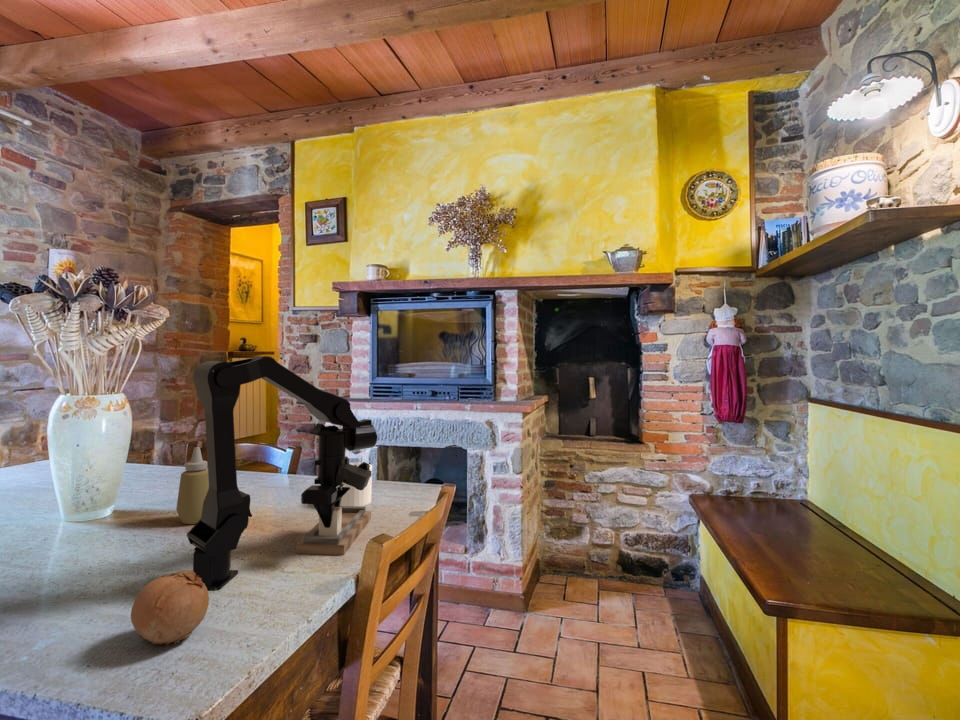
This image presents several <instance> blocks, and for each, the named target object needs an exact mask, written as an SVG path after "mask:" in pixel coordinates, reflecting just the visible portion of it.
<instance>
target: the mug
mask: <svg viewBox="0 0 960 720" xmlns="http://www.w3.org/2000/svg"><path fill="white" fill-rule="evenodd" d="M361 463H362V462H349V464H351V465H357V467H358V466H359V465H360V464H361ZM368 464H369V468H370V471H372V472H371V473H372V474H371V477H370V479H369V481H368V484H367V486H366V487H365V488H364V489H363V490H358V489H356V488H355V487H353V486H350V485H348V484H345V483H343V484H345V485H344V487H350V490H349V491H348V492H347V493H345V494H344V495H343V497H342V500H341V503H340V506H357V507H367V506H369V505H370V504H371V503H372V493H373V492H372V491H373V490H372V489H373V486H372V485H373V483H372V482H373V465H372V464H370V463H368Z"/></svg>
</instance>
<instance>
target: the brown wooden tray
mask: <svg viewBox="0 0 960 720" xmlns="http://www.w3.org/2000/svg"><path fill="white" fill-rule="evenodd" d="M340 507H342V520H341V532H340V533H339V534H338V536H319V522H318V523H317V524H316V525H314V527H312V529H310V530H309V531H308V532H307V533H306V534H305V535H304V536H303V537H302V538H301V539H300V540H299V541H298V542H296V546H295V547H296V548H295V550H296V551H295V553H296V554H300V555H301V554H304V555H306V554H307V555H331V556H332V555H338V556H339V555H341V556H344V555H345V554H346V553H347V552H348V550H349V549H350V548H351V547H352V546H353V544H354V543H355V541H356V540H357V538H358V537H359V535H361V533H362V531H363V530H364V529H365V528H366V527H367V525H368V524H369V522H370V521H371V519H372V510H371V511H370V510H366V509H367V506H364V507H357V506H340Z"/></svg>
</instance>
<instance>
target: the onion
mask: <svg viewBox="0 0 960 720" xmlns="http://www.w3.org/2000/svg"><path fill="white" fill-rule="evenodd" d="M201 580H202V578H200V577H198V575H196V574H195V572H193V570H183V571H182V570H181V571H178V572H174V573H172V574H171V573H170V574H169V575H168V574H167V575H162V576H161V577H157V578H155V579H153V580H152V581H150V582H148V583H146V585H145V586H143V588H142V589H141V590H140V591H139V592H138V594H137V596H136V597H135V599H134V601H133V604H132V606H131V611H130V612H131V613H130V620H131V624H132V626H133V628H134V630H135V631H136V632H137V634H139V638H143V639H145V640H146V641H147V642H148V643H150V644H152V645H164V644H165V645H166V646H168V645H169V644H170V643H174V644H177V643H178V644H179V643H180V641H181V640H183V639H185V638H187V637H189V636H190V635H191V634H193V631H194V630H195V629H196V628H197V627H198V626H199V625H200V624H201V622H202V621H203V620H204V619H205V616H206V614H207V611H208V609H209V608H208V607H209V604H210V603H209V601H210V596H209V591H208V589H207V588H206V586H205V584H204V583H203V582H202V581H201Z"/></svg>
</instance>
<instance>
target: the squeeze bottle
mask: <svg viewBox="0 0 960 720" xmlns="http://www.w3.org/2000/svg"><path fill="white" fill-rule="evenodd" d="M190 459H191V460H190V461H187V462H186V463H185V471H182V473H181V474H180V478H179V479H180V480H179V487H178V494H177V502H176V507H175V509H176V512H177V515H178V517H179V519H180V522H181V523H182V524H184V525H195V524H196V523H197V522H198V521H199V520H200V519H201V516H202V509H203V502H204V499H205V497H206V494H207V492H208V489H209V477H208V460H203V455H202V451H201V447H200V446H197V447H195V446H194V447H193V451H192V455H191V458H190Z"/></svg>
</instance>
